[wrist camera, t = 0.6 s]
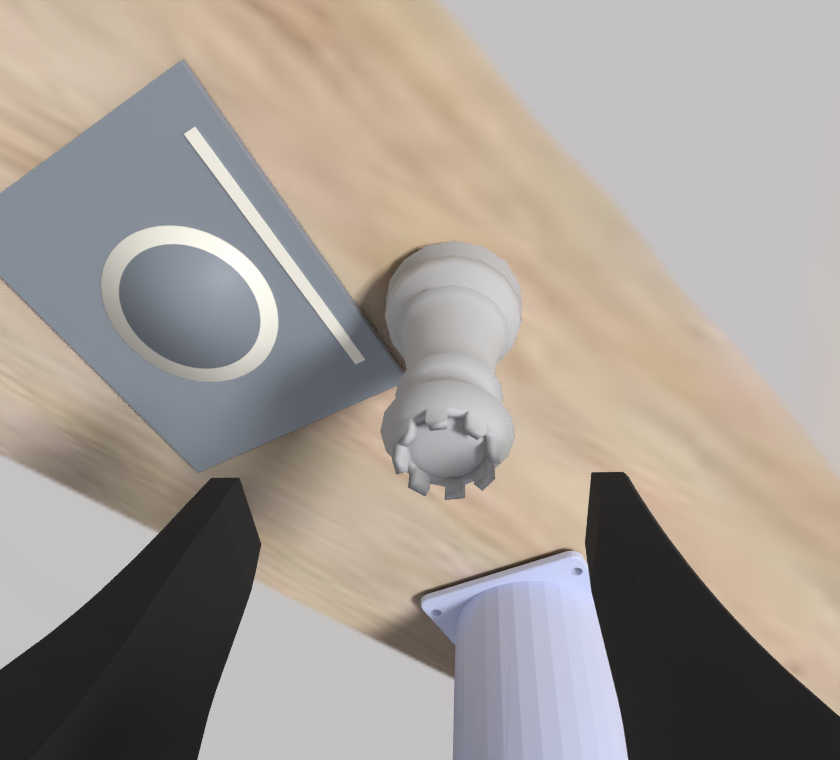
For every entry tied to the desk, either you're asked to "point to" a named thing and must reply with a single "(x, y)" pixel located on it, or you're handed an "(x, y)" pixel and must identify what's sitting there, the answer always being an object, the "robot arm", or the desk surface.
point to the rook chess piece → (450, 366)
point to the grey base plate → (187, 278)
